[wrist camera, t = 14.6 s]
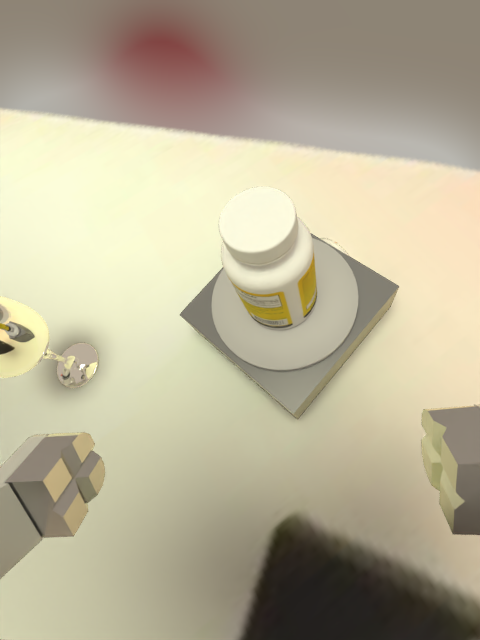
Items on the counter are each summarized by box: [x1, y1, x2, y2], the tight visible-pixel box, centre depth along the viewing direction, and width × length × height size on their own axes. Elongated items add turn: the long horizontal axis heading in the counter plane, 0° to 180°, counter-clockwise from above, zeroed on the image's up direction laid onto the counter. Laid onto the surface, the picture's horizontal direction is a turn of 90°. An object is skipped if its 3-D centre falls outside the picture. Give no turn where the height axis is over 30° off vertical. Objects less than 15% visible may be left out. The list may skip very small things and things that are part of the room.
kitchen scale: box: [180, 234, 399, 419], centre depth 29 cm, size 12×13×5 cm
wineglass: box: [0, 296, 98, 388], centre depth 29 cm, size 6×6×12 cm
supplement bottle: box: [219, 187, 317, 330], centre depth 22 cm, size 5×5×10 cm
